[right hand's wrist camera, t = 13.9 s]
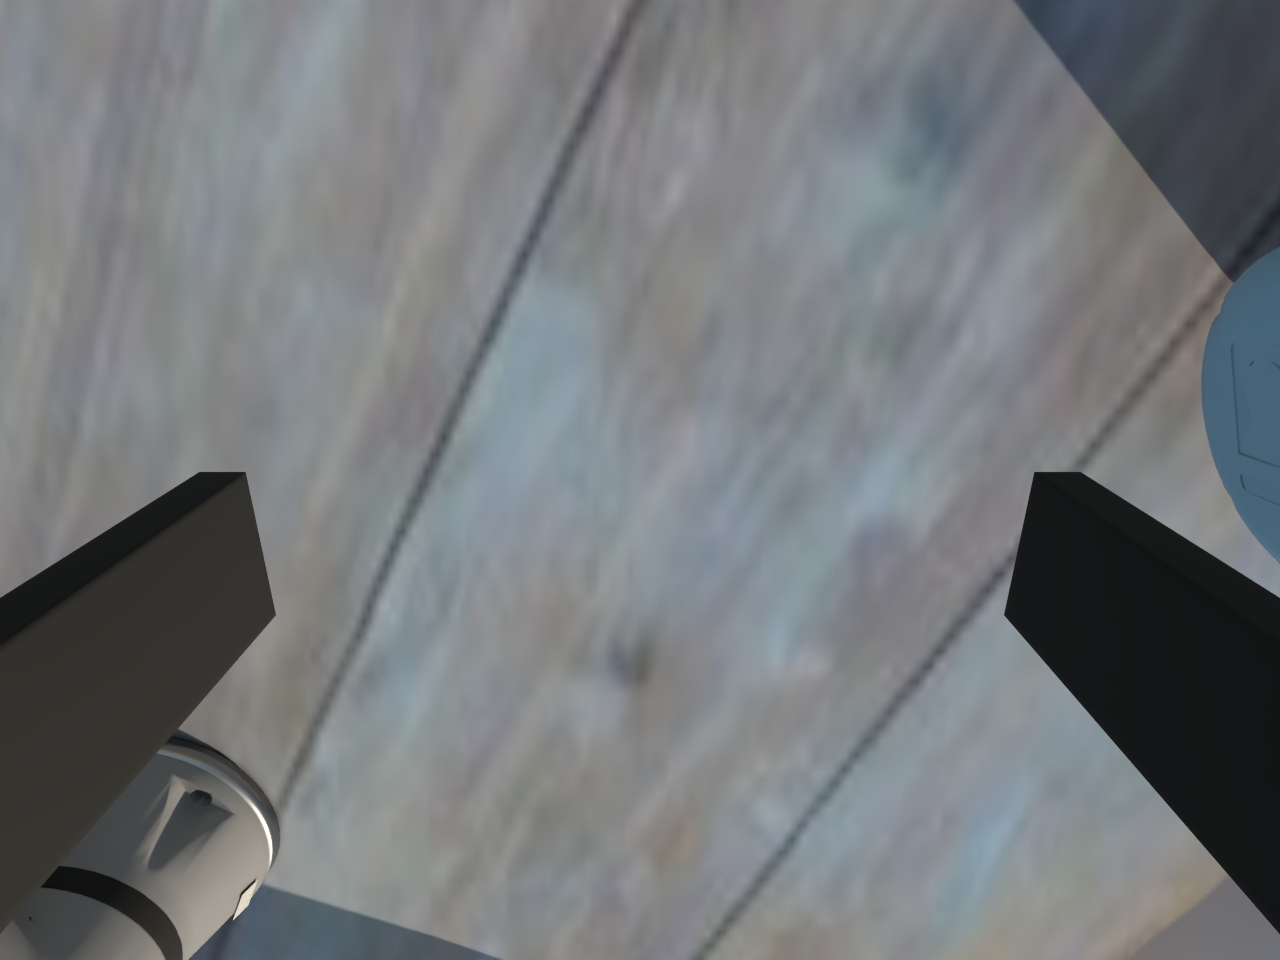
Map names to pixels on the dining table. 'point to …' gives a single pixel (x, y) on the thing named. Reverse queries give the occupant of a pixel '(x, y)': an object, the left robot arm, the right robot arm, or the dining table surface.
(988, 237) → the dining table surface
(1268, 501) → the left robot arm
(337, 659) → the dining table surface
